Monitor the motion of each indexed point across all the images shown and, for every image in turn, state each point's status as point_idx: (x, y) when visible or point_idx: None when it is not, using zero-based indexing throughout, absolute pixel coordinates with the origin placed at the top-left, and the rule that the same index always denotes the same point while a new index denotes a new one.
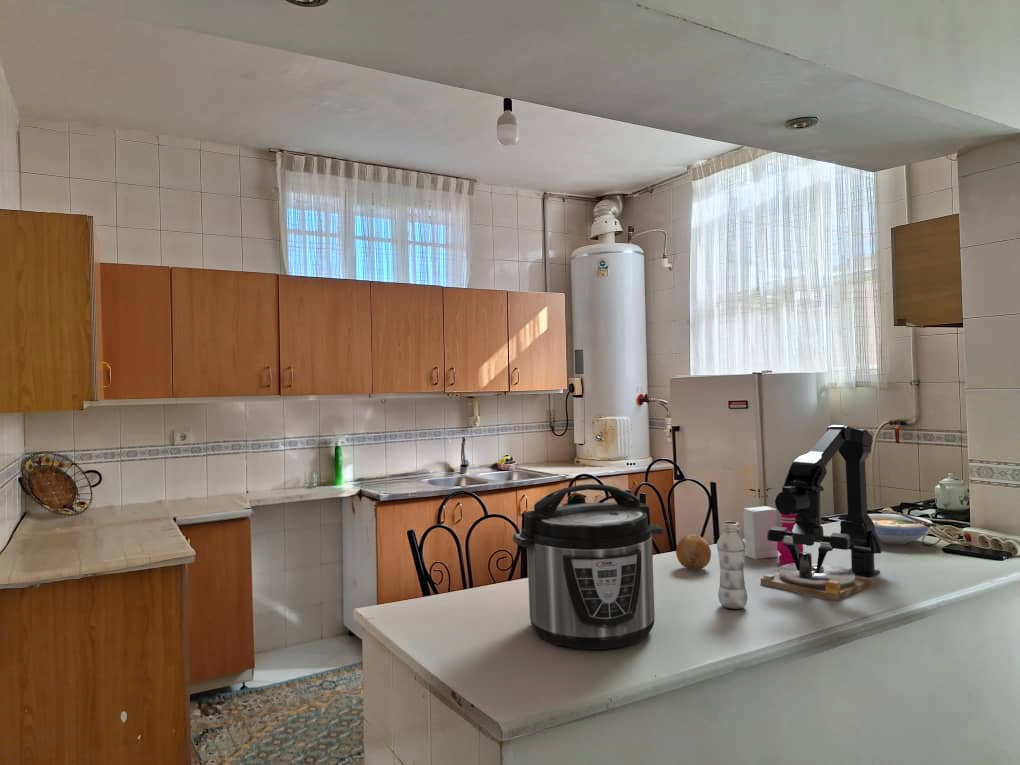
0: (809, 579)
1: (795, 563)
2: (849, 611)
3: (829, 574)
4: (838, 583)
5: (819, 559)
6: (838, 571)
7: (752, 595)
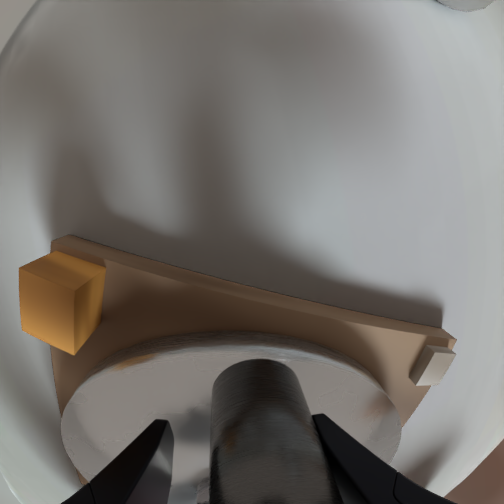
0: (217, 358)
1: (355, 444)
2: (17, 109)
3: None
4: (22, 308)
5: (104, 500)
6: None
7: (451, 134)
